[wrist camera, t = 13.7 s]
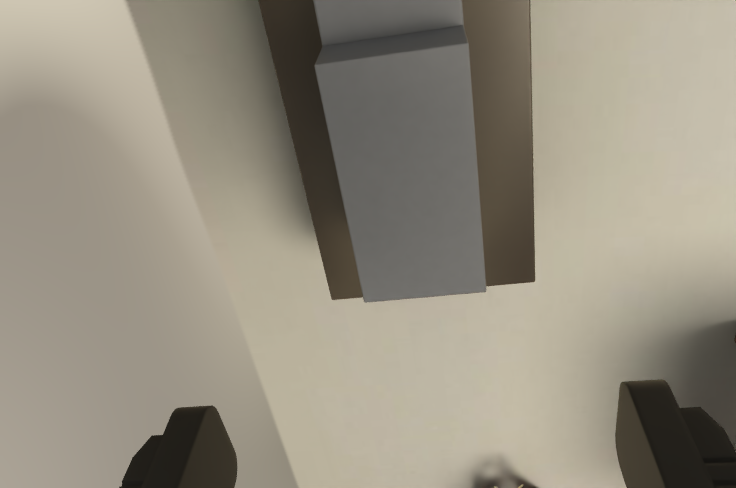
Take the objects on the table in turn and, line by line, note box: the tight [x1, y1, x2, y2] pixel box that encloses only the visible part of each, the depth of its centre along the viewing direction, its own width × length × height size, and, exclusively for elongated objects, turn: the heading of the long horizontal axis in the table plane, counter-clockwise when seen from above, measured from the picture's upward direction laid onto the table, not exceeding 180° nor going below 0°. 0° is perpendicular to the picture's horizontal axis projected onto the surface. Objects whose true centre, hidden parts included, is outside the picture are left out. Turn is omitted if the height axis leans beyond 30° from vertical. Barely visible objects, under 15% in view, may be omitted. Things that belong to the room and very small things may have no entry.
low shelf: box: [258, 0, 535, 300], centre depth 25 cm, size 9×14×5 cm, turn 9°
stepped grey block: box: [313, 0, 486, 302], centre depth 21 cm, size 10×4×5 cm, turn 9°
